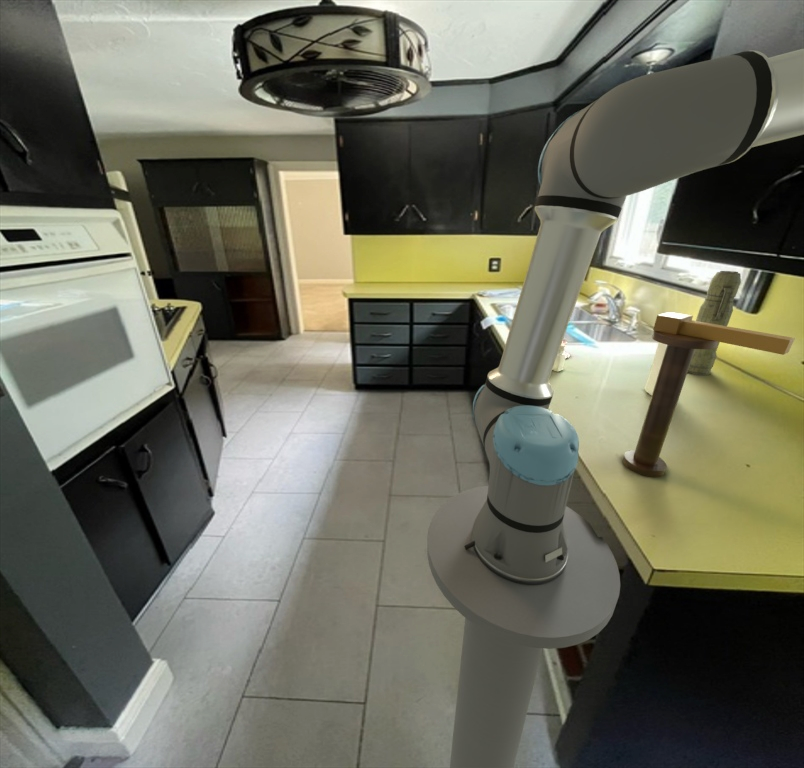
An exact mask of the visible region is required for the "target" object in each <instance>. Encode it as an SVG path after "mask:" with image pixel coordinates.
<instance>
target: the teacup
mask: <svg viewBox="0 0 804 768" xmlns="http://www.w3.org/2000/svg"><path fill="white" fill-rule="evenodd" d="M568 343H569V341H568V340H566V339H564V338H563V341H562V343H561V344H563V345H565V346H566V345H567V344H568ZM564 354H566V358H565V360H566V359H569V358H570V357H571V354H570V352H567V351H565V350H564Z"/></svg>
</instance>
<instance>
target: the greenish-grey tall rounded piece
mask: <svg viewBox="0 0 804 768" xmlns="http://www.w3.org/2000/svg"><path fill="white" fill-rule="evenodd" d="M741 282H742V278H741V273H739V271H734V270H720V271H717V272H716V273H715V274H714V276H713V277H712V278H711V280H710V283H709V286H708V288H707V292H706V297H705V298H704V301H703V302H702V304H701V305H700V307H699V310H698V313H697V316H696V318H695V321H699V322H705V323H711V324H716V325H722V326H728V325H729V323H730V319H731V317H732V314H733V311H734V300H735V297H737V294H738V291H739V288H740V285H741ZM720 343H721V342H718V343H717V346H716V347H715V348H712V349H695V352H694V354H693V357H692V360H691V363H690V366H689V369H688V372H687V373H688V374H689V373H690V374H694V375H700V376H701V375H703V376H707V375H710V374H711V370H712V369H713V367H714V365H715V363H716V360H717V350H718V348H719V345H720Z"/></svg>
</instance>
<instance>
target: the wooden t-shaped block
mask: <svg viewBox="0 0 804 768" xmlns="http://www.w3.org/2000/svg"><path fill="white" fill-rule="evenodd" d="M693 318H694V316H693V315H691V314H685V313H678V312H673V311H668V312H664V313H660V314H657V315H656V318H655V322H654V325H653V329H652V330H653V331H654V330H655V331H660V332H665V333H669V334H674V335H677V334H683V335H688V336H693V337H697V338H702V339H707V340H712V341H717V342H720V343H722V344H726V345H727V344H728V345H731V346H732V345H733V346H738V347H742V348H748V349H753V350H757V351H763V352H767V353H772V354H776V355H782V356H785V355H786V354H788V353H789V352H790V350H791V348H792V345H793V344H794V342H795V337H790V336H785V335H779V334H774V333H768V332H762V331H756V330H750V329H745V328H739V327H733V326H728V325H727V326H722V325H716V324H711V323H705V322H699V321H696V320H693Z"/></svg>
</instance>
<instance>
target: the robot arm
mask: <svg viewBox="0 0 804 768" xmlns="http://www.w3.org/2000/svg"><path fill="white" fill-rule="evenodd" d="M803 135H804V48H801V49H797V50H792V51H789V52H785V53H782V54H778V55H774V56H770V57H768V56H767V55H766V54H765V53H763V52H762V51H760V50H755V49H754V50H752V49H751V50H743V51H740V52H736V53H734V54H730V55H726V56H722V57H717V58H712V59H708V60H704V61H703V60H702V61H699V62H695V63H690V64H686V65H681V66H677V67H673V68H669V69H665V70H660V71H655V72H651V73H648V74H644V75H641V76H638V77H635V78H633V79H630V80H627V81H625V82H623V83H620V84H618V85H616V86H615V87H613V88H612V89H610V90H609V91H607V92H606V93H604V94H603V95H602V96H600V97H599V98H598V99H596V100H594V101H593V102H592V103H590V104H589V105H587V106H586V107H584V108H582V109H581V110H578V111H577V112H574V113H573V114H571V115H570V116H569V117H567V118H566V119H565V120H564V121H562V123H561V124H559V126H557V128H556V129H555V130H554V132H552V134H551V136H550V137H549V138H548V140H547V141H546V143H545V145H544V146H543V149H542V151H541V154H540V156H539V161H538V166H537V180H538V183H539V186H540V187H539V191H538V193H537V194H538V195H537V199H536V202H535V206H534V211H535V213H536V215H537V217H538V219H539V221H540V225H539V228H538V232H537V236H536V239H535V242H534V246H533V249H532V253H531V256H530V259H529V263H528V267H527V270H526V273H525V276H524V280H523V284H522V287H521V290H520V294H519V297H518V300H517V304H516V306H515V307H516V308H515V309H514V310H515V311H514V314H513V318H512V321H511V324H510V328H509V331H508V335H507V338H506V341H505V345H504V348H503V352H502V355H501V359H500V361H499V365H498V366H497V367H496V368H494V369H492V370H490V371H489V372H488V373H487V376H486V378H485V383H484V384H482V385H481V386H480V387H479V388H478V390H477V391H476V394H475V396H474V398H473V402H472V418H473V422H474V424H475V427H476V429H477V431H478V434H479V437H480V440H481V443H482V446H483V448H484V450H485V454H486V457H487V461H488V464H489V477H488V485H487V486H488V495H487V500H486V502H485V503H484V505H483V507H482V508H481V510H480V512H479V514H478V515H477V517H476V519H475V521H474V524H473V528H472V542H471V543H469V544H467V545H465V546H464V547H465V549H466V550H467V549H469V548H471V547H473V548H474V551H475V553H476V555H477V556H478V558H479V559H480V560H481V562H482V563H483V564H484V565H485V566H486V567H487V568H488V569H490V570H491V571H492V572H494V573H495V574H497V575H498V576H500V577H502V578H504V579H506V580H509V581H511V582H515V583H518V584H524V585H541V584H546V583H549V582H551V581H553V580H555V579H556V578H558V577H559V576H560V575H561V574H562V572H563V571H564V569H565V566H566V563H567V558H568V543H567V538H566V533H565V528H564V522H563V517H564V513H565V509H566V506H567V505H568V501H569V495H570V492H571V488H572V483H573V479H574V474H575V471H576V469H577V466H578V464H579V457H580V456H579V455H580V454H579V449H580V440H579V435H578V432H577V430H576V429H575V427H574V426H573V425H572V423H571V422H570V421H569V420H567V418H565V416H564V417H563V416H562V415H560V414H559V413H553V411H552V410H551V409H549V407H550V405H551V403H552V399H553V397H554V393H555V390H554V388H553V387H552V385H551V383H550V380H549V379H550V377H551V374H552V371H553V370H552V369H553V366H554V363H555V360H556V357H557V355H558V352H559V349H560V346H561V343H562V341H563V339H564V337H565V336H566V332H567V329H568V326H569V324H570V321H571V318H572V316H573V312H574V309H575V308H576V307H575V306H576V303H577V301H578V298H579V296H580V293H581V290H582V287H583V285H584V282H585V280H586V279H585V278H586V276H587V274H588V271H589V268H590V265H591V262H592V259H593V257H594V253H595V251H596V248H597V245H598V242H599V240H600V236H601V234H602V233H603V232H604V231H605V230H606V229H607V228H609V227H611V226H612V225H614V224H615V223H617V222H618V219H619V217H620V215H621V212H622V209H623V207H624V205H625V201H626V199H627V196H632V195H635V194H638V193H641V192H644V191H647V190H649V189H652V188H654V187H658V186H660V185H663V184H666V183H668V182H671V181H674V180H677V179H680V178H683V177H686V176H689V175H691V174H694V173H698V172H701V171H703V170H708V169H711V168H715V167H719V166H725V165H727V164H731V163H733V162H736V161H737V160H739V159H740V158H742V157H743V156H744V155H746V154H747V153H748V152H749V151H750V150H751V149H752V148H754V147H758V146H763V145H767V144H771V143H774V142H780V141H784V140H788V139H791V138H795V137H799V136H803Z"/></svg>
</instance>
